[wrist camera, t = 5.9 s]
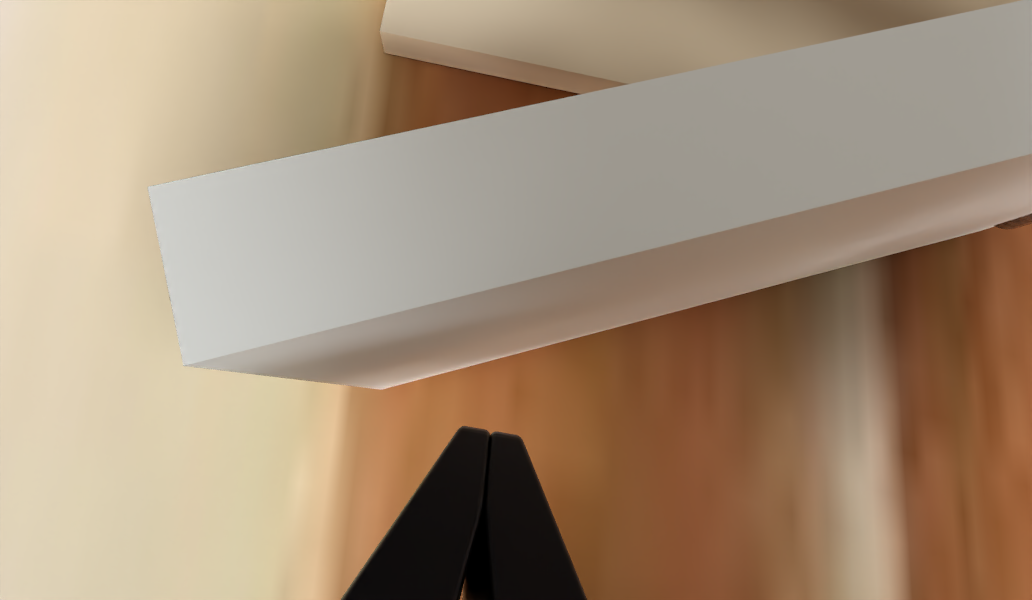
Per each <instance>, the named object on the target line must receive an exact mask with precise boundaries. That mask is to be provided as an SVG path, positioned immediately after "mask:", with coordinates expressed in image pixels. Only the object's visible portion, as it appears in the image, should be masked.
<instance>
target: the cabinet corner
mask: <svg viewBox="0 0 1032 600" xmlns="http://www.w3.org/2000/svg"><path fill="white" fill-rule="evenodd" d="M1016 1H1021V0H387V1H386V6H385V10H384V14H383V19H382V23H381V27H380V35H381V40H382V45H383V50H384V53H387V54H392V55H397V56H402V57H406V58H411V59H416V60H421V61H425V62H430V63H435V64H440V65H444V66H449V67H454V68H459V69H464V70H468V71H473V72H478V73H483V74H487V75H492V76H497V77H502V78H506V79H511V80H516V81H521V82H525V83H530V84H535V85H540V86H544V87H549V88H554V89H559V90H563V91H568V92H573V93H578V94H585V93H590V92H594V91H599V90H604V89H608V88H613V87H618V86H622V85H627V84H632V83H636V82H641V81H646V80H651V79H655V78H660V77H665V76H669V75H674V74H679V73H683V72H688V71H693V70H697V69H702V68H707V67H711V66H716V65H721V64H726V63H730V62H735V61H740V60H744V59H749V58H754V57H758V56H763V55H768V54H772V53H777V52H782V51H787V50H791V49H796V48H801V47H805V46H810V45H815V44H819V43H824V42H829V41H833V40H838V39H843V38H847V37H852V36H857V35H862V34H866V33H871V32H876V31H880V30H885V29H890V28H894V27H899V26H904V25H908V24H913V23H918V22H922V21H927V20H932V19H937V18H941V17H946V16H951V15H955V14H960V13H965V12H969V11H974V10H979V9H983V8H988V7H993V6H998V5H1002V4H1007V3H1012V2H1016Z"/></svg>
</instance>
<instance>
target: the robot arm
mask: <svg viewBox="0 0 1032 600" xmlns="http://www.w3.org/2000/svg"><path fill="white" fill-rule="evenodd" d="M463 585H464V587H463ZM462 589H463V598H462V600H587V598H586V596H585V593H584V591H583V588H582V586H581V583H580V581H579V578H578V576H577V573H576V571H575V568H574V566H573V563H572V561H571V558H570V556H569V553H568V551H567V549H566V546H565V544H564V541H563V539H562V536H561V534H560V531H559V529H558V526H557V524H556V521H555V519H554V516H553V514H552V511H551V509H550V506H549V504H548V501H547V499H546V497H545V494H544V492H543V489H542V487H541V484H540V482H539V479H538V477H537V474H536V472H535V469H534V467H533V464H532V462H531V459H530V457H529V454H528V452H527V449H526V447H525V445H524V442H523V440H522V439H521V437H519V436H518V435H514V434H508V433H502V432H493V433H492V434H491V435H490V433H489V432H488V431H487V430H485V429H479V428H473V427H468V426H462V427H461V428H459V429H458V430H457V432H456V433H455V435H454V436H453V438H452V439H451V441H450V442H449V443H448V445H447V446H446V448H445V449H444V451H443V452H442V454H441V455H440V456H439V458H438V459H437V461H436V462H435V464H434V465H433V467H432V468H431V469H430V471H429V472H428V474H427V475H426V477H425V478H424V480H423V481H422V483H421V484H420V485H419V487H418V488H417V490H416V491H415V493H414V494H413V496H412V497H411V498H410V500H409V501H408V503H407V504H406V506H405V507H404V509H403V510H402V511H401V513H400V514H399V516H398V517H397V519H396V520H395V522H394V523H393V525H392V526H391V527H390V529H389V530H388V532H387V533H386V535H385V536H384V538H383V539H382V540H381V542H380V543H379V545H378V546H377V548H376V549H375V551H374V552H373V553H372V555H371V556H370V558H369V559H368V561H367V562H366V564H365V565H364V567H363V568H362V569H361V571H360V572H359V574H358V575H357V577H356V578H355V580H354V581H353V582H352V584H351V585H350V587H349V588H348V590H347V591H346V593H345V594H344V595H343V597H342V598H341V600H460V596H461V592H462Z"/></svg>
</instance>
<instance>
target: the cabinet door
mask: <svg viewBox="0 0 1032 600" xmlns="http://www.w3.org/2000/svg"><path fill="white" fill-rule="evenodd" d="M148 192H149V197H150V202H151V207H152V212H153V217H154V221H155V226H156V231H157V236H158V241H159V246H160V251H161V256H162V261H163V266H164V271H165V276H166V281H167V286H168V291H169V296H170V301H171V306H172V311H173V316H174V321H175V326H176V331H177V336H178V341H179V346H180V350H181V355H182V360H183V365H184V366H190V367H198V368H206V369H215V370H223V371H231V372H240V373H248V374H256V375H264V376H273V377H281V378H289V379H298V380H306V381H314V382H323V383H331V384H339V385H348V386H356V387H364V388H373V389H381V390H382V389H386V388H389V387H393V386H397V385H401V384H405V383H408V382H412V381H416V380H420V379H423V378H427V377H431V376H435V375H439V374H442V373H446V372H450V371H454V370H457V369H461V368H465V367H469V366H472V365H476V364H480V363H484V362H488V361H491V360H495V359H499V358H503V357H506V356H510V355H514V354H518V353H522V352H525V351H529V350H533V349H537V348H540V347H544V346H548V345H552V344H556V343H559V342H563V341H567V340H571V339H574V338H578V337H582V336H586V335H589V334H593V333H597V332H601V331H605V330H608V329H612V328H616V327H620V326H623V325H627V324H631V323H635V322H639V321H642V320H646V319H650V318H654V317H657V316H661V315H665V314H669V313H673V312H676V311H680V310H684V309H688V308H691V307H695V306H699V305H703V304H706V303H710V302H714V301H718V300H722V299H725V298H729V297H733V296H737V295H740V294H744V293H748V292H752V291H756V290H759V289H763V288H767V287H771V286H774V285H778V284H782V283H786V282H790V281H793V280H797V279H801V278H805V277H808V276H812V275H816V274H820V273H823V272H827V271H831V270H835V269H839V268H842V267H846V266H850V265H854V264H857V263H861V262H865V261H869V260H873V259H876V258H880V257H884V256H888V255H891V254H895V253H899V252H903V251H907V250H910V249H914V248H918V247H922V246H925V245H929V244H933V243H937V242H940V241H944V240H948V239H952V238H956V237H959V236H963V235H967V234H971V233H974V232H978V231H982V230H985V229H988V228H991V227H994V226H996V227H998V228H1002V229H1014V228H1018V227H1021V226H1024V225H1028V224H1031V223H1032V0H1021V1H1016V2H1012V3H1007V4H1002V5H998V6H993V7H988V8H983V9H979V10H974V11H969V12H965V13H960V14H955V15H951V16H946V17H941V18H937V19H932V20H927V21H922V22H918V23H913V24H908V25H904V26H899V27H894V28H890V29H885V30H880V31H876V32H871V33H866V34H862V35H857V36H852V37H847V38H843V39H838V40H833V41H829V42H824V43H819V44H815V45H810V46H805V47H801V48H796V49H791V50H787V51H782V52H777V53H772V54H768V55H763V56H758V57H754V58H749V59H744V60H740V61H735V62H730V63H726V64H721V65H716V66H711V67H707V68H702V69H697V70H693V71H688V72H683V73H679V74H674V75H669V76H665V77H660V78H655V79H651V80H646V81H641V82H636V83H632V84H627V85H622V86H618V87H613V88H608V89H604V90H599V91H594V92H590V93H585V94H580V95H575V96H571V97H566V98H561V99H557V100H552V101H547V102H543V103H538V104H533V105H529V106H524V107H519V108H515V109H510V110H505V111H500V112H496V113H491V114H486V115H482V116H477V117H472V118H468V119H463V120H458V121H454V122H449V123H444V124H440V125H435V126H430V127H425V128H421V129H416V130H411V131H407V132H402V133H397V134H393V135H388V136H383V137H379V138H374V139H369V140H364V141H360V142H355V143H350V144H346V145H341V146H336V147H332V148H327V149H322V150H318V151H313V152H308V153H304V154H299V155H294V156H289V157H285V158H280V159H275V160H271V161H266V162H261V163H257V164H252V165H247V166H243V167H238V168H233V169H229V170H224V171H219V172H214V173H210V174H205V175H200V176H196V177H191V178H186V179H182V180H177V181H172V182H168V183H163V184H158V185H153V186H149V187H148Z"/></svg>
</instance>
